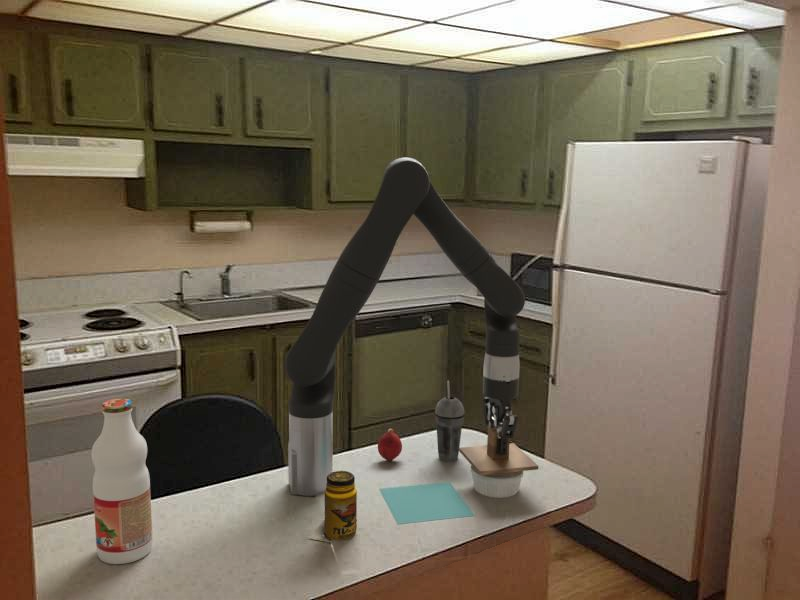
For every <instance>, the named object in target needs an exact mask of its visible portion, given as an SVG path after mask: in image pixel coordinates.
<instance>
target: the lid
mask: <svg viewBox="0 0 800 600" xmlns="http://www.w3.org/2000/svg"><path fill="white" fill-rule="evenodd" d="M501 430H502V428H501ZM510 440H511V439H510V438H509V439H508V445H507V454H506V455H498V454H497V453H496V450H497V428H496V427H492V428H488V427H487V441H486V443H487V444H486V445H477V446H476V445H475V446H465V447H459V453H460V454H461V455H462V456H463V457H464V459H465V460H466V461H467V462H468V463H469V464H470V465H472V466H473V467H474V469H475V470H476V471H477V472H478V473H479V474H480V475H486V474H497V473H507V472H517V471H523V472H527V471H536V470H539V464H537V463H536V462H535V461H534V460H533V459H532V458H530V456H528V455H527V454H526V453H525V452H524V451H523V450H522V449H521V448H519V446H518V445H517V444H516V443H514V442H511V443H510Z"/></svg>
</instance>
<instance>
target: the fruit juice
mask: <svg viewBox="0 0 800 600" xmlns="http://www.w3.org/2000/svg"><path fill="white" fill-rule="evenodd" d="M133 407H134V406H133V401H132V400H131V399H128V398H114V399H113V398H112V399H108V400H105V401H104V402H103V403H102V404H101V410H102V414H103V415H104V420H103V425H102V426H103V427H102V430H101V432H100V435H99V436H98V438H97V439H96V440H95V442H94V443H93V446H92V447H91V459H92V460H91V461H92V463H93V466H94V468H95V472H94V475H93V478H92V496H93V512H94V527H95V541H96V542H95V543H96V553H97V556H98V558H99V560H100V561H102V562H103V563H106V564H110V565H124V564H129V563H133V562H136V561H138V560H141V559H143V558H144V557H146V556H147V555H148V554H149V553H150V552H151V550H152V548H153V545H154V544H153V541H154V539H153V522H152V519H153V518H152V503H151V502H152V499H151V498H152V497H151V482H150V481H151V478H150V472H149V469H148V467H147V465H146V460H147V456H148V445H147V441H146V439H145V438H144V436H143V435H141V433H140V432H139V431H138V430H137V429H136V427H135V424H134V421H133V418H132V414H131V413H132V411H133Z"/></svg>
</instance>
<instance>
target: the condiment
mask: <svg viewBox="0 0 800 600" xmlns="http://www.w3.org/2000/svg"><path fill="white" fill-rule="evenodd" d="M355 478H356V477H355V475H354V474H353V473H352V472H350V471H346V470H336V471H333V472H332V473H330V474H329V475H328V476H327V484H326V489H325V492H324V519H323V521H321V523H320V525H318V527H317V528H316V529H315V530H314V532H312V533H311V535H309V537H308V540H314V541H320V542H326V543H330V544H333V540H335V541H343V540H349V539H351V538H353V537H354V536H355V535H356V533H357V530H358V529H357V527H358V526H357V525H358V523H357V522H358V519H357V516H358V513H357V512H358V511H357V510H358V509H357V508H358V507H357V504H358V502H357V500H358V498H357V497H358V494H357V493H358V490H357V488H356V482H355V480H356V479H355ZM323 535H324V536H323Z"/></svg>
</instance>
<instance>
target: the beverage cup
mask: <svg viewBox="0 0 800 600" xmlns="http://www.w3.org/2000/svg"><path fill="white" fill-rule="evenodd" d="M446 383H447V385H446V387H447V396H445V397H443V398H441V399H440V400H439V401H438V402H437V403H436V406H435V410H434V419H435V423H436V439H437V440H436V441H437V442H436V443H437V454H438V458H439V460H440V461H443V462H455V461H457V460H458V458H459V453H460V451H459V448H460V446H461V444H460V443H461V438H462V437H461V435H462V429H463V428H462V427H463V424H464V421H465V416H466V412H465V409H464V404H463V403H462V402H461V401H460V400H459V399H458V398H456V397H454V396H450V395H451V391H450V380H447V382H446Z"/></svg>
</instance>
